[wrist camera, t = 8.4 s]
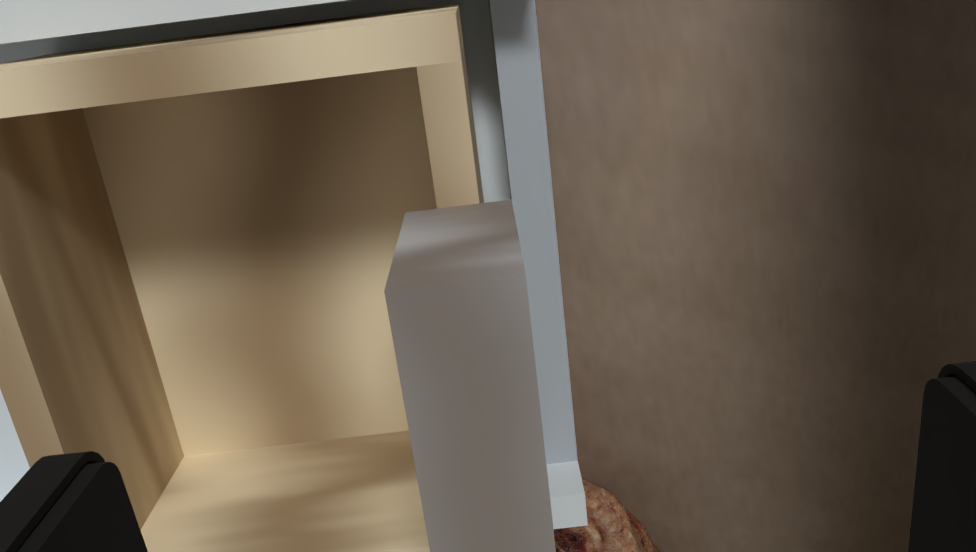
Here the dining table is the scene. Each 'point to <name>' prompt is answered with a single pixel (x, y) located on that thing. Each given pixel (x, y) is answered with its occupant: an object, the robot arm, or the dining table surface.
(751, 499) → the dining table surface
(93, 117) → the drawer
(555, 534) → the cookie
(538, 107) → the bay
